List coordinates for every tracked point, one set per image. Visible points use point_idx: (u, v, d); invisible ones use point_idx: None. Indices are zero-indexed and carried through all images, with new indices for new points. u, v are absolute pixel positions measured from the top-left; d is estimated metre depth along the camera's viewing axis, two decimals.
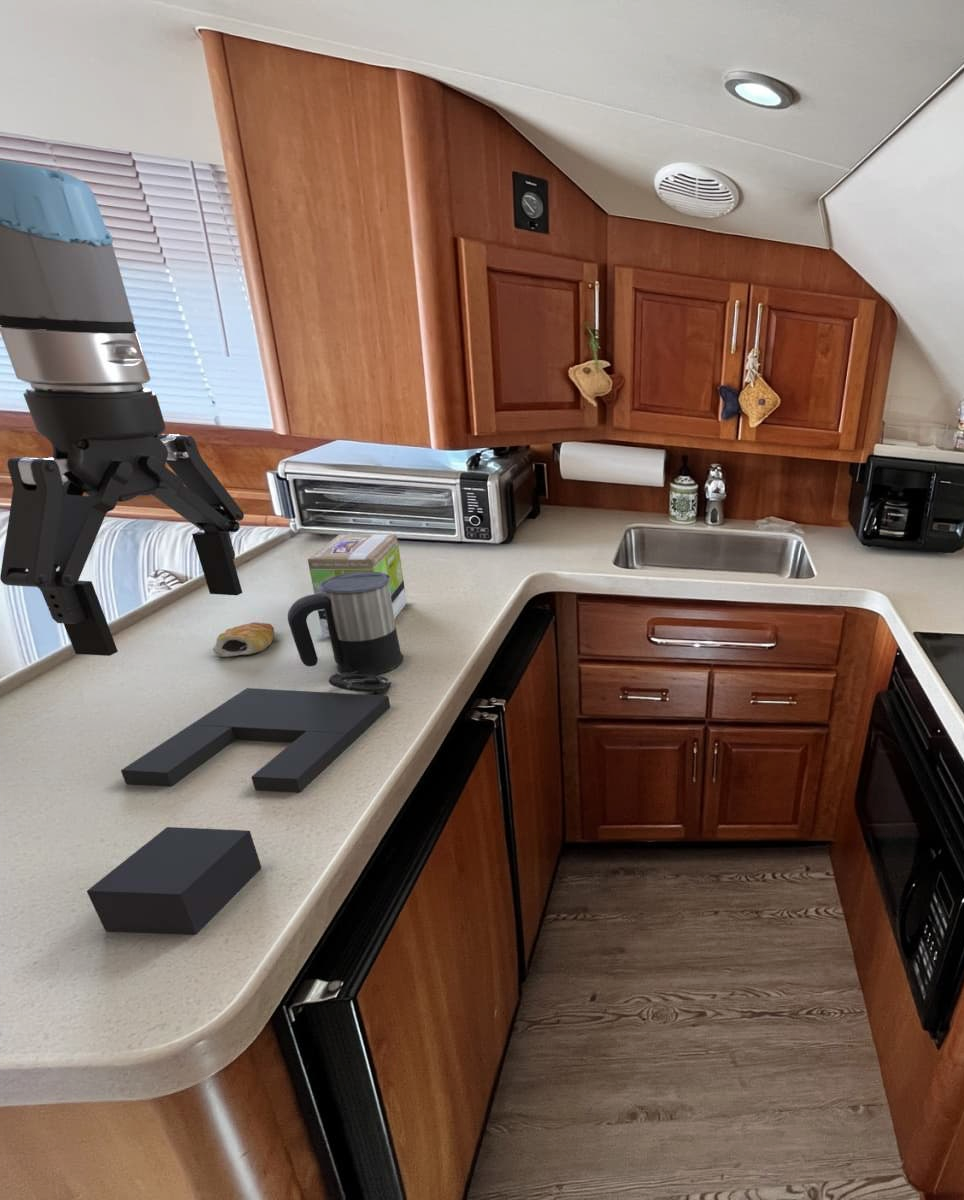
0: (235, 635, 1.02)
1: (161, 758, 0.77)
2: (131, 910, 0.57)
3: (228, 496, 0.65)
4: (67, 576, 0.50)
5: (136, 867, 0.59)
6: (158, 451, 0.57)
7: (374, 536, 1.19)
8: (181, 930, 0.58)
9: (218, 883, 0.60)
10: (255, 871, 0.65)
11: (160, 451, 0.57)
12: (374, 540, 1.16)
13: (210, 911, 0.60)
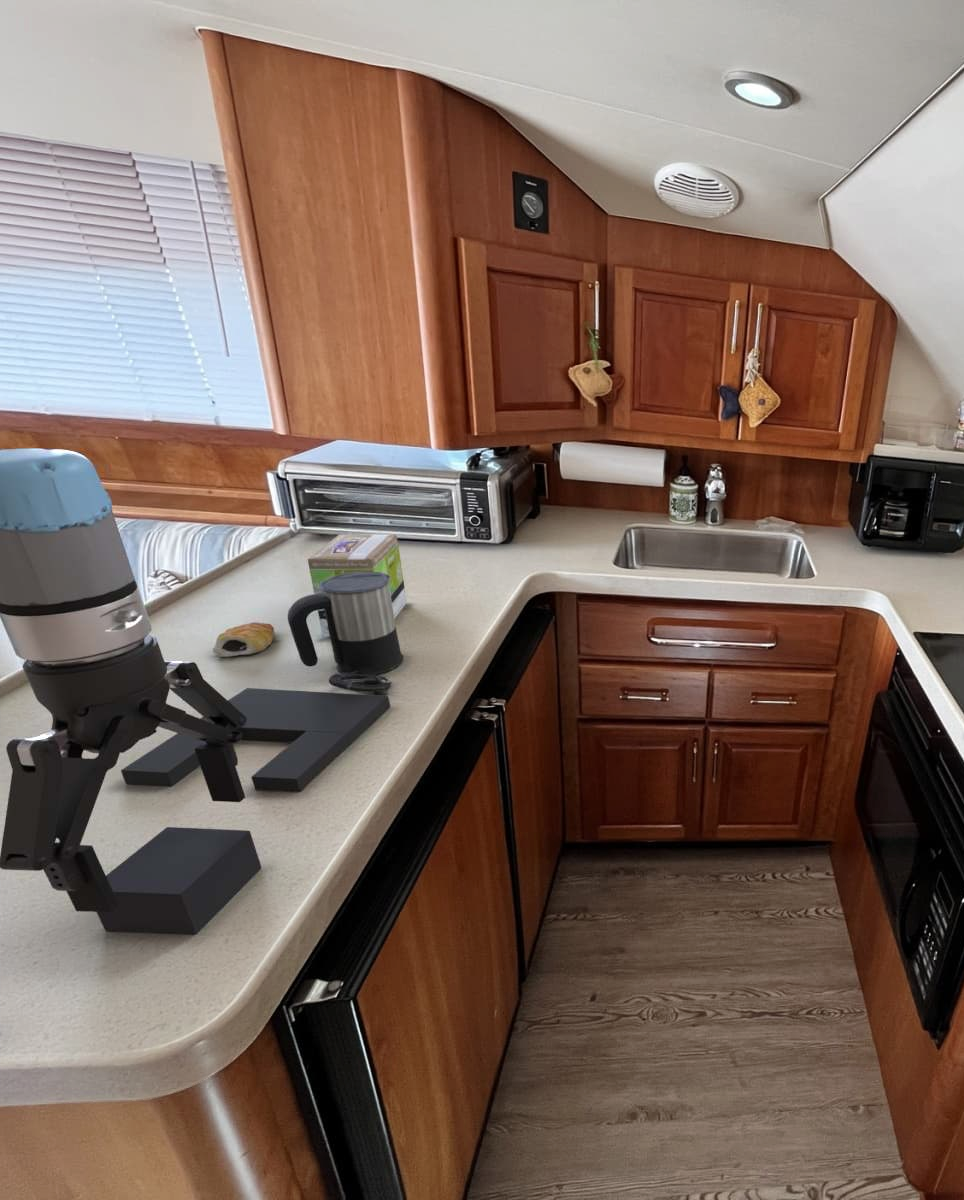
0: (235, 635, 1.02)
1: (161, 758, 0.77)
2: (131, 910, 0.57)
3: (231, 706, 0.64)
4: (67, 849, 0.49)
5: (136, 867, 0.59)
6: (159, 689, 0.56)
7: (374, 536, 1.19)
8: (181, 930, 0.58)
9: (218, 883, 0.60)
10: (255, 871, 0.65)
11: (162, 688, 0.56)
12: (374, 540, 1.16)
13: (210, 911, 0.60)
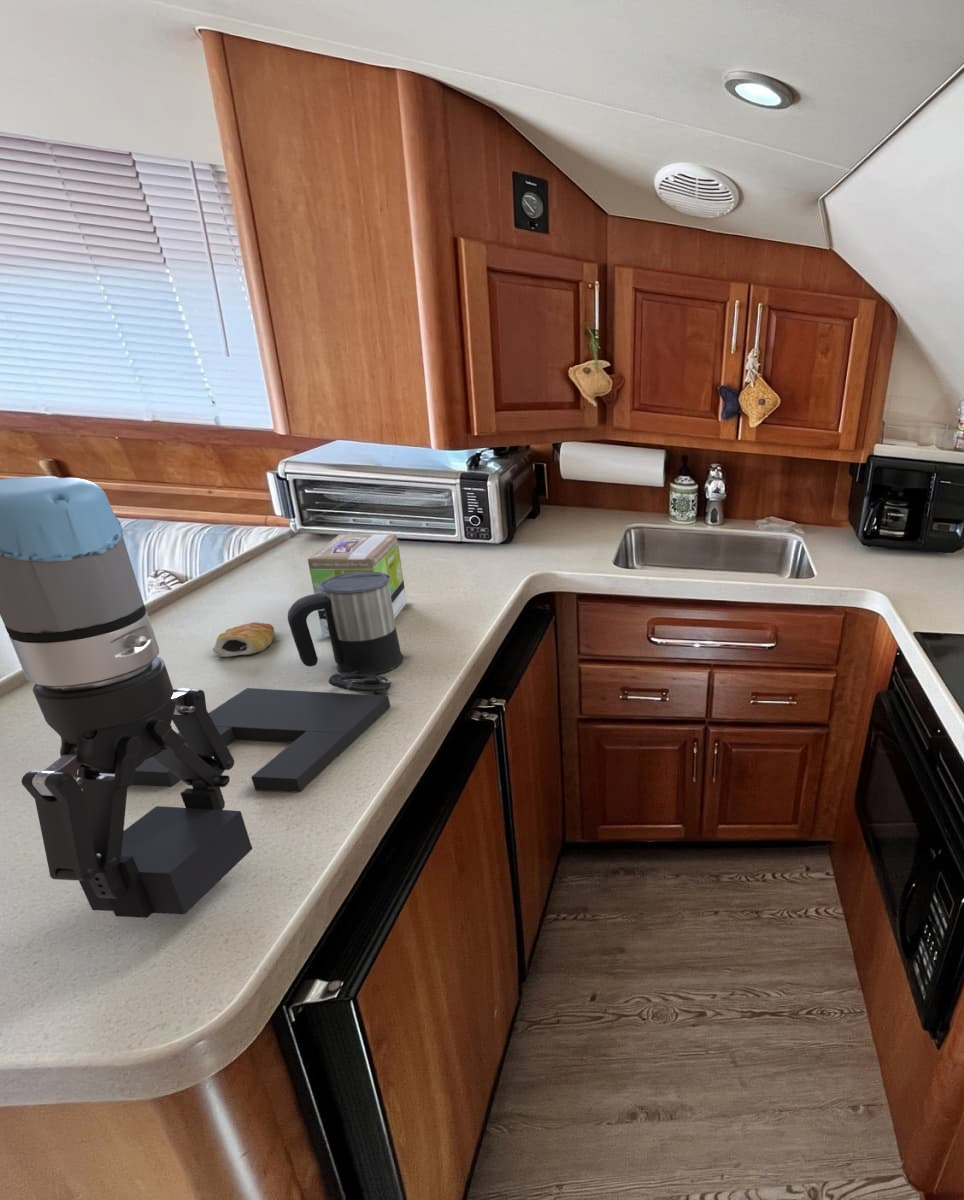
0: (235, 635, 1.02)
1: None
2: None
3: (223, 746, 0.64)
4: (110, 861, 0.53)
5: (124, 846, 0.58)
6: (165, 709, 0.57)
7: (374, 536, 1.19)
8: (170, 910, 0.57)
9: (207, 863, 0.60)
10: (246, 852, 0.64)
11: (167, 708, 0.57)
12: (374, 540, 1.16)
13: (199, 891, 0.59)
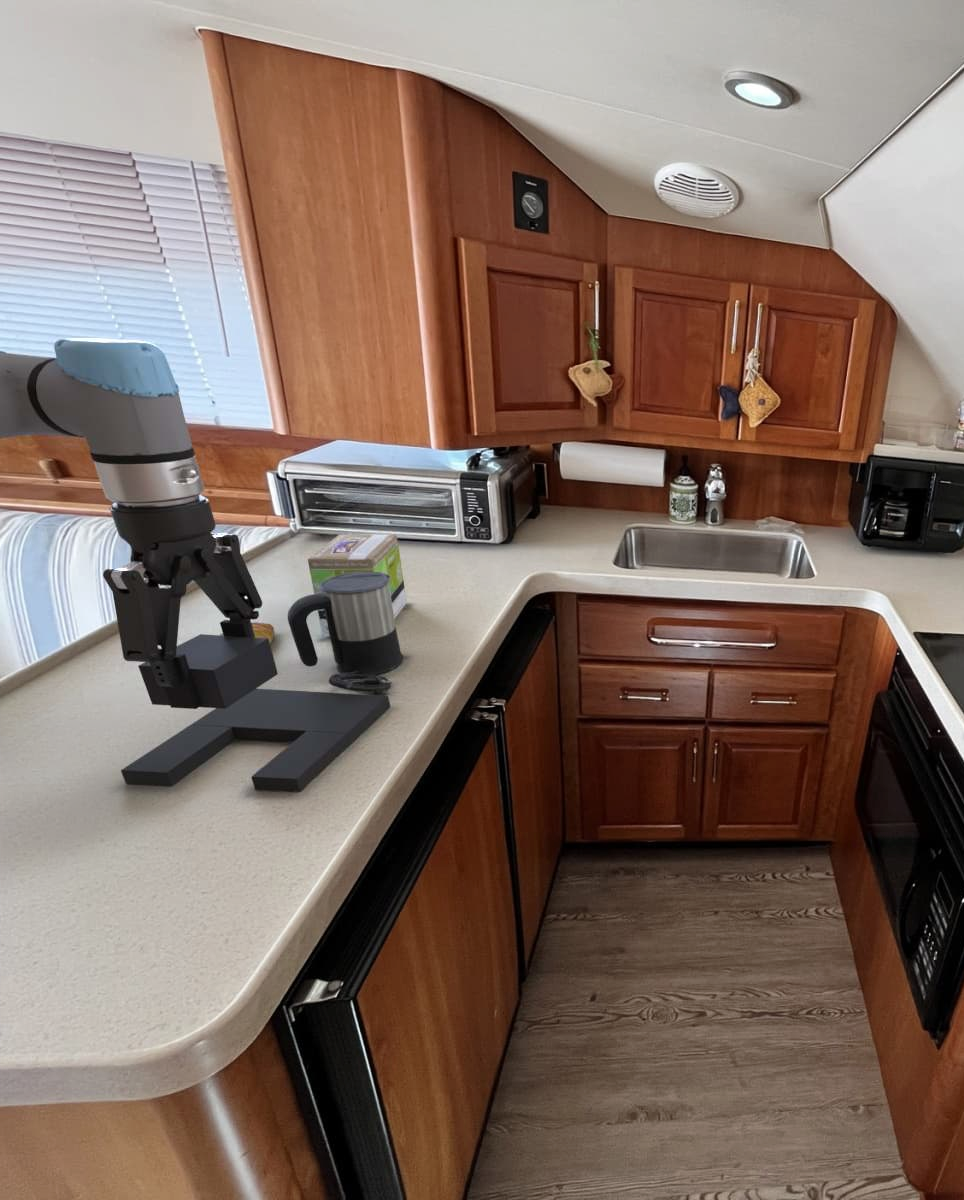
0: None
1: (161, 758, 0.77)
2: None
3: (253, 587, 0.78)
4: (168, 653, 0.67)
5: None
6: (209, 543, 0.71)
7: (374, 536, 1.19)
8: (214, 704, 0.71)
9: (243, 673, 0.74)
10: (272, 675, 0.78)
11: (210, 542, 0.71)
12: (374, 540, 1.16)
13: (236, 694, 0.73)
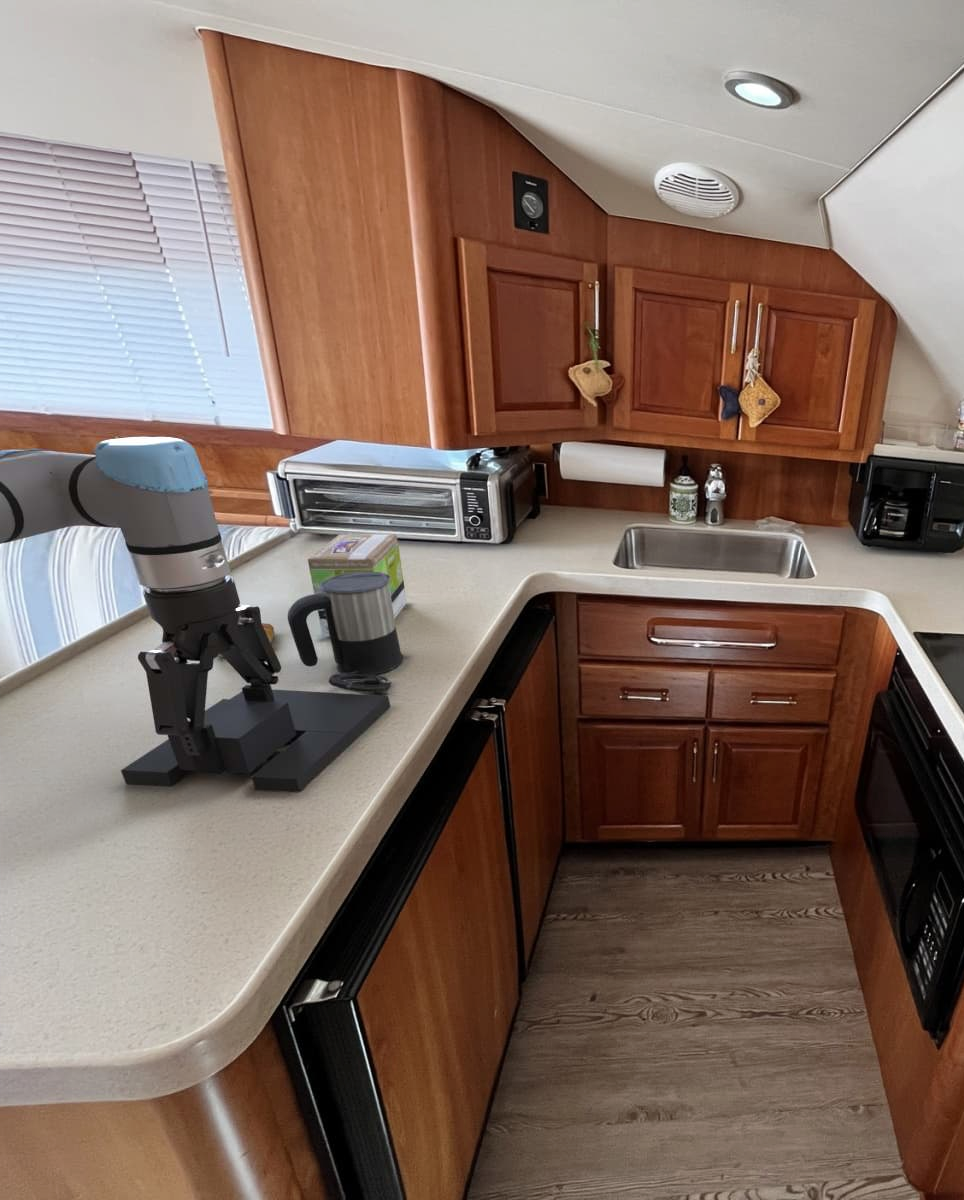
0: None
1: (161, 758, 0.77)
2: None
3: (273, 653, 0.82)
4: (196, 725, 0.71)
5: None
6: (233, 617, 0.75)
7: (374, 536, 1.19)
8: (238, 769, 0.76)
9: (265, 738, 0.78)
10: (291, 736, 0.82)
11: (234, 616, 0.76)
12: (374, 540, 1.16)
13: (259, 758, 0.77)
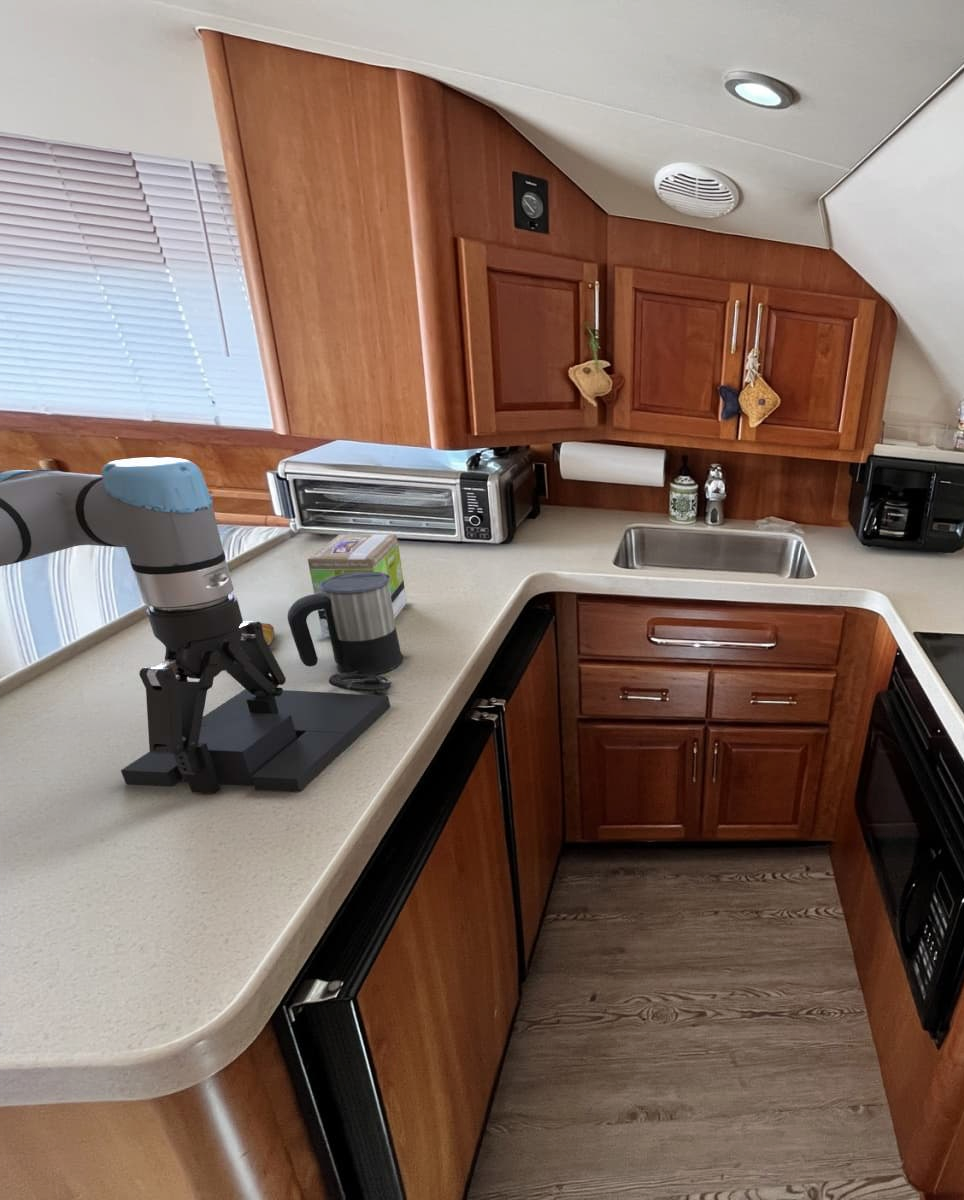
0: None
1: (161, 758, 0.77)
2: None
3: (277, 666, 0.83)
4: (191, 744, 0.71)
5: (207, 735, 0.77)
6: (235, 635, 0.76)
7: (374, 536, 1.19)
8: (242, 782, 0.76)
9: (268, 750, 0.79)
10: None
11: (237, 634, 0.76)
12: (374, 540, 1.16)
13: None
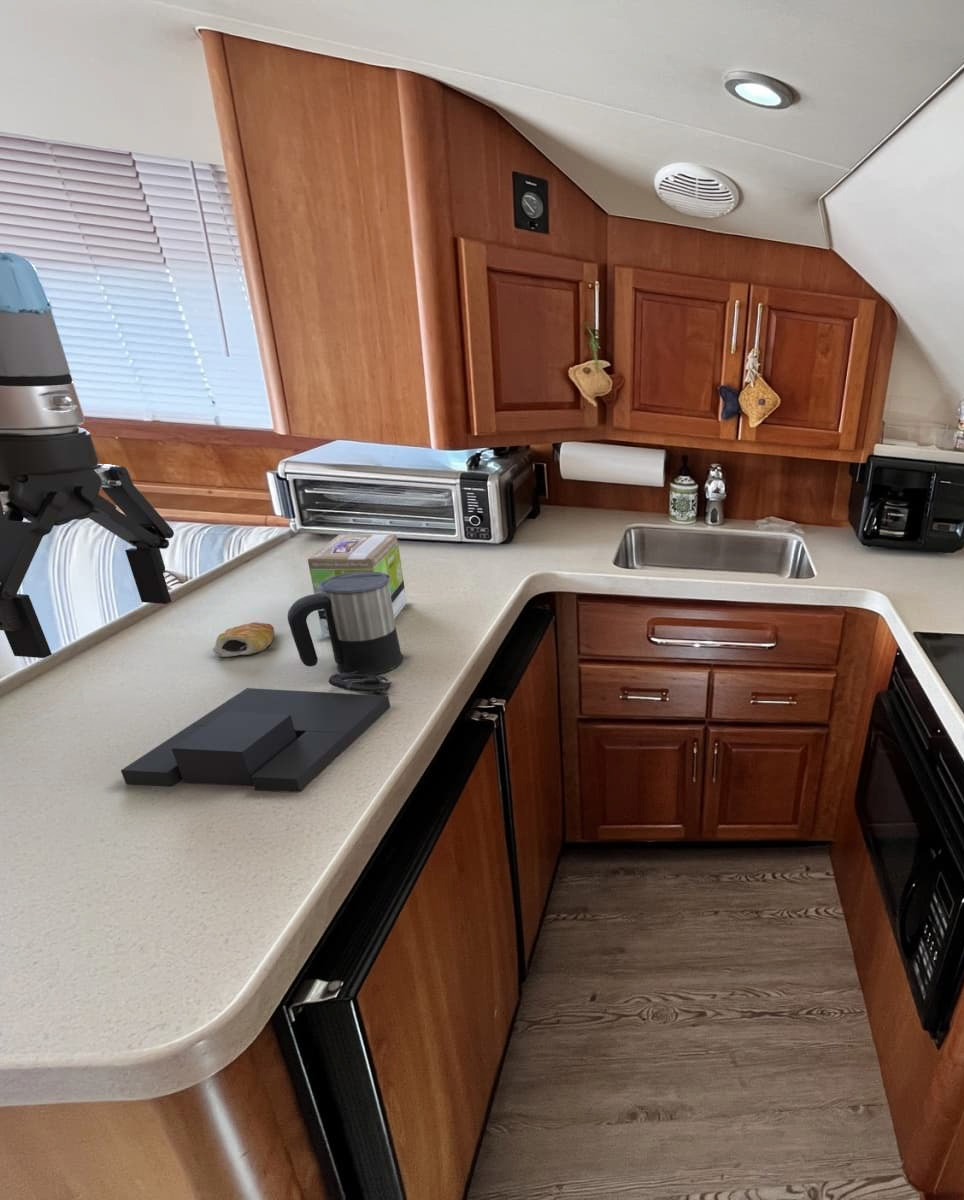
0: (235, 635, 1.02)
1: (161, 758, 0.77)
2: (204, 764, 0.75)
3: (159, 517, 0.73)
4: (6, 591, 0.59)
5: (206, 735, 0.77)
6: (92, 481, 0.66)
7: (374, 536, 1.19)
8: (242, 782, 0.76)
9: (268, 750, 0.79)
10: None
11: (94, 481, 0.66)
12: (374, 540, 1.16)
13: None
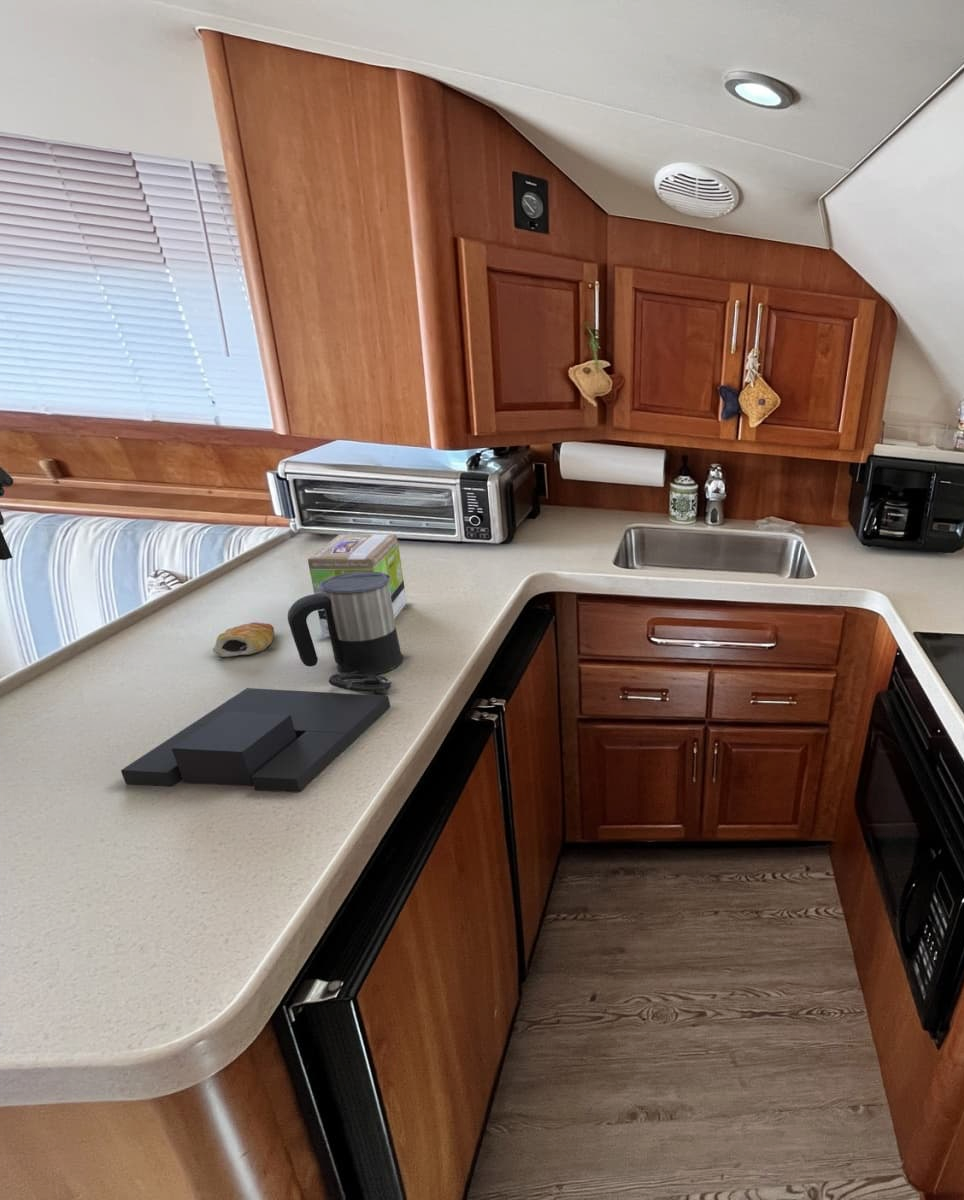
0: (235, 635, 1.02)
1: (161, 758, 0.77)
2: (204, 764, 0.75)
3: None
4: None
5: (206, 735, 0.77)
6: None
7: (374, 536, 1.19)
8: (242, 782, 0.76)
9: (268, 750, 0.79)
10: None
11: None
12: (374, 540, 1.16)
13: None
